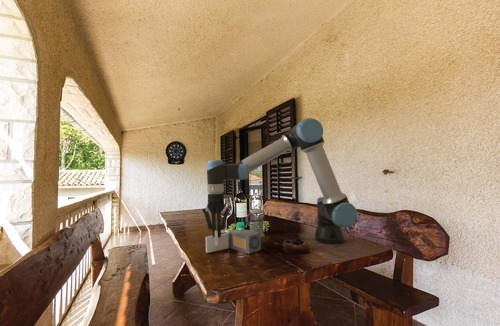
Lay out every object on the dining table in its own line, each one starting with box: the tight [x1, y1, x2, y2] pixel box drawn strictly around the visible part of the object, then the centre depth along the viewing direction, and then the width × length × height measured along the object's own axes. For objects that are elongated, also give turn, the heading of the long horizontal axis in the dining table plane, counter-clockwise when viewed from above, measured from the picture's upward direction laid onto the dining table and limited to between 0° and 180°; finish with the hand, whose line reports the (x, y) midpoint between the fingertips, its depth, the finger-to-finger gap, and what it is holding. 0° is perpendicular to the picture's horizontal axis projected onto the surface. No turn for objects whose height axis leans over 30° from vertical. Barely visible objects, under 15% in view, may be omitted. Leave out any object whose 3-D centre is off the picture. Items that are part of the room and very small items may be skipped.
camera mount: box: [235, 221, 246, 230], centre depth 132 cm, size 12×8×10 cm, turn 16°
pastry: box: [281, 238, 310, 255], centre depth 113 cm, size 11×12×6 cm
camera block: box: [228, 228, 262, 255], centre depth 117 cm, size 16×8×9 cm, turn 45°
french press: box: [245, 192, 266, 238], centre depth 144 cm, size 10×12×25 cm
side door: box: [205, 232, 231, 254], centre depth 115 cm, size 13×2×7 cm, turn 126°
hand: (217, 244), depth 112 cm, fingers closed
